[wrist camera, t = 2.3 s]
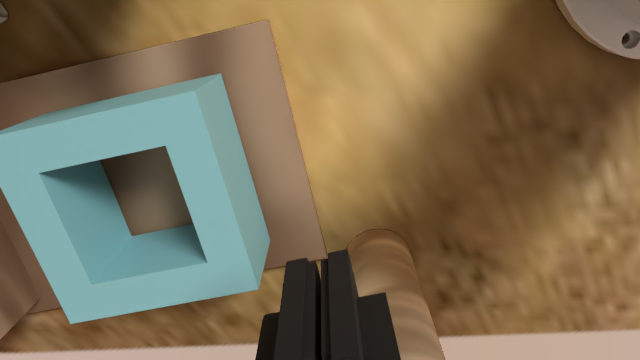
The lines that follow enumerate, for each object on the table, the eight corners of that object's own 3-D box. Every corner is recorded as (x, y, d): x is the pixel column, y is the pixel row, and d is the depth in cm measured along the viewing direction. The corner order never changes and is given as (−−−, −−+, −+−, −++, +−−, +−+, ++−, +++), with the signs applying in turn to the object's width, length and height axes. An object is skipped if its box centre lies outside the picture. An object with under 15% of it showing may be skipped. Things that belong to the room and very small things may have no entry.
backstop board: (268, 19, 23) (241, 27, 16) (326, 252, 28) (326, 343, 21) (-98, 106, 25) (-278, 150, 18) (16, 311, 30) (-87, 413, 23)
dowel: (404, 223, 28) (457, 375, 16) (414, 278, 29) (469, 453, 18) (339, 235, 28) (347, 392, 17) (352, 289, 29) (367, 467, 18)
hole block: (220, 73, 24) (194, 90, 19) (270, 240, 27) (258, 289, 22) (42, 114, 25) (-24, 140, 20) (113, 270, 28) (70, 323, 23)
